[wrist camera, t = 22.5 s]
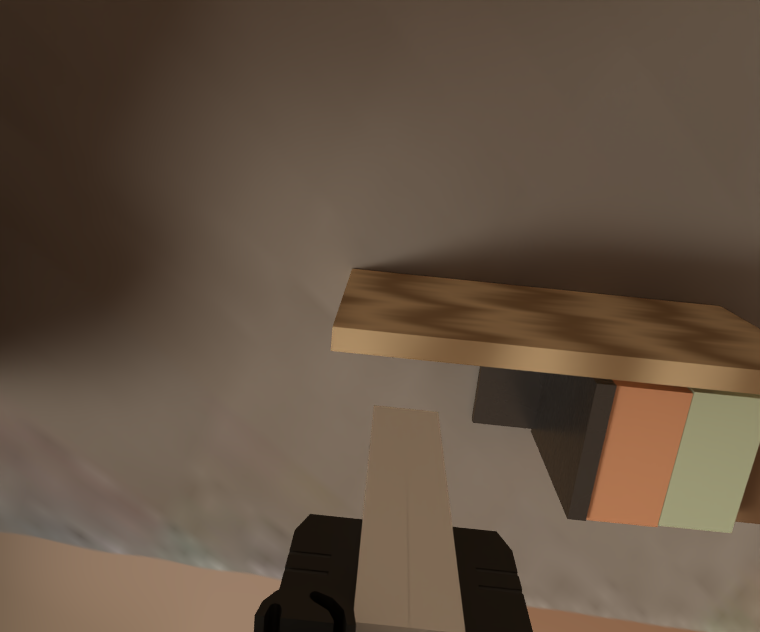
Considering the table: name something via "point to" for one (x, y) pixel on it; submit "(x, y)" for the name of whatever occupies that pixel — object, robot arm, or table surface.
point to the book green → (713, 461)
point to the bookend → (552, 423)
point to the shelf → (553, 336)
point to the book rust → (639, 452)
